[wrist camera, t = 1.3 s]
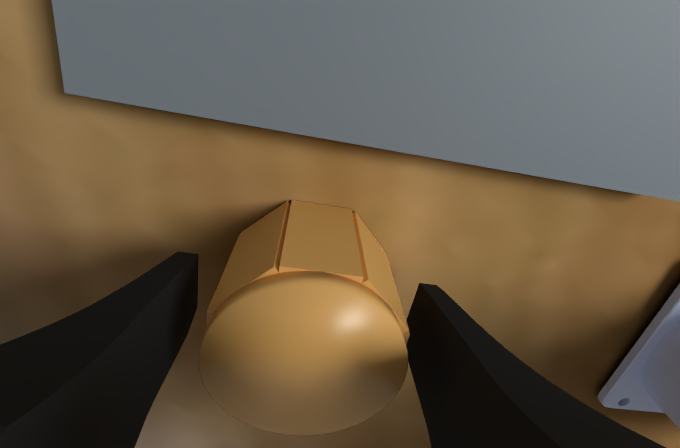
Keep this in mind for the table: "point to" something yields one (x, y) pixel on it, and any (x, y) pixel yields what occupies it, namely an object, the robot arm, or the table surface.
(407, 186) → the table surface
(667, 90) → the board
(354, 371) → the cap
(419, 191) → the table surface
